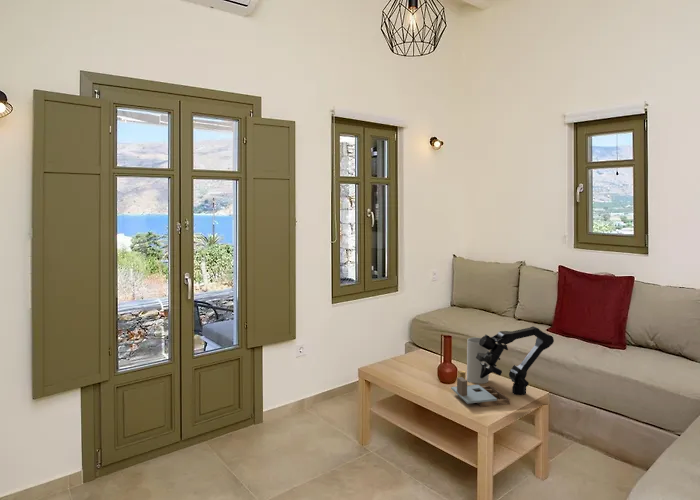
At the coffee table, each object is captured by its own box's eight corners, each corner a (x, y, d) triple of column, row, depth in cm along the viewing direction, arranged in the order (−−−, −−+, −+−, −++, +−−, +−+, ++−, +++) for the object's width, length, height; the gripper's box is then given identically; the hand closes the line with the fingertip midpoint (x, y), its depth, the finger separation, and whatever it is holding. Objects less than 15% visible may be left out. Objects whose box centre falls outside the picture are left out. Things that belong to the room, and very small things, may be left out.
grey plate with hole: (478, 386, 267) (478, 370, 266) (496, 400, 247) (497, 383, 246) (451, 388, 263) (451, 373, 263) (467, 403, 244) (467, 386, 243)
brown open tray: (490, 391, 268) (490, 385, 268) (509, 405, 249) (509, 399, 249) (464, 393, 265) (464, 387, 265) (481, 408, 246) (481, 402, 245)
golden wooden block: (462, 387, 275) (463, 370, 274) (465, 389, 272) (465, 372, 271) (457, 387, 275) (457, 370, 274) (460, 389, 271) (460, 372, 271)
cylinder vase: (490, 385, 278) (491, 343, 275) (469, 385, 278) (469, 343, 276) (485, 377, 290) (485, 337, 288) (464, 377, 290) (465, 337, 288)
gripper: (475, 341, 265) (461, 365, 267) (492, 354, 248) (477, 380, 249) (490, 348, 269) (477, 372, 270) (508, 362, 251) (493, 387, 252)
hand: (480, 377), depth 260 cm, fingers closed
